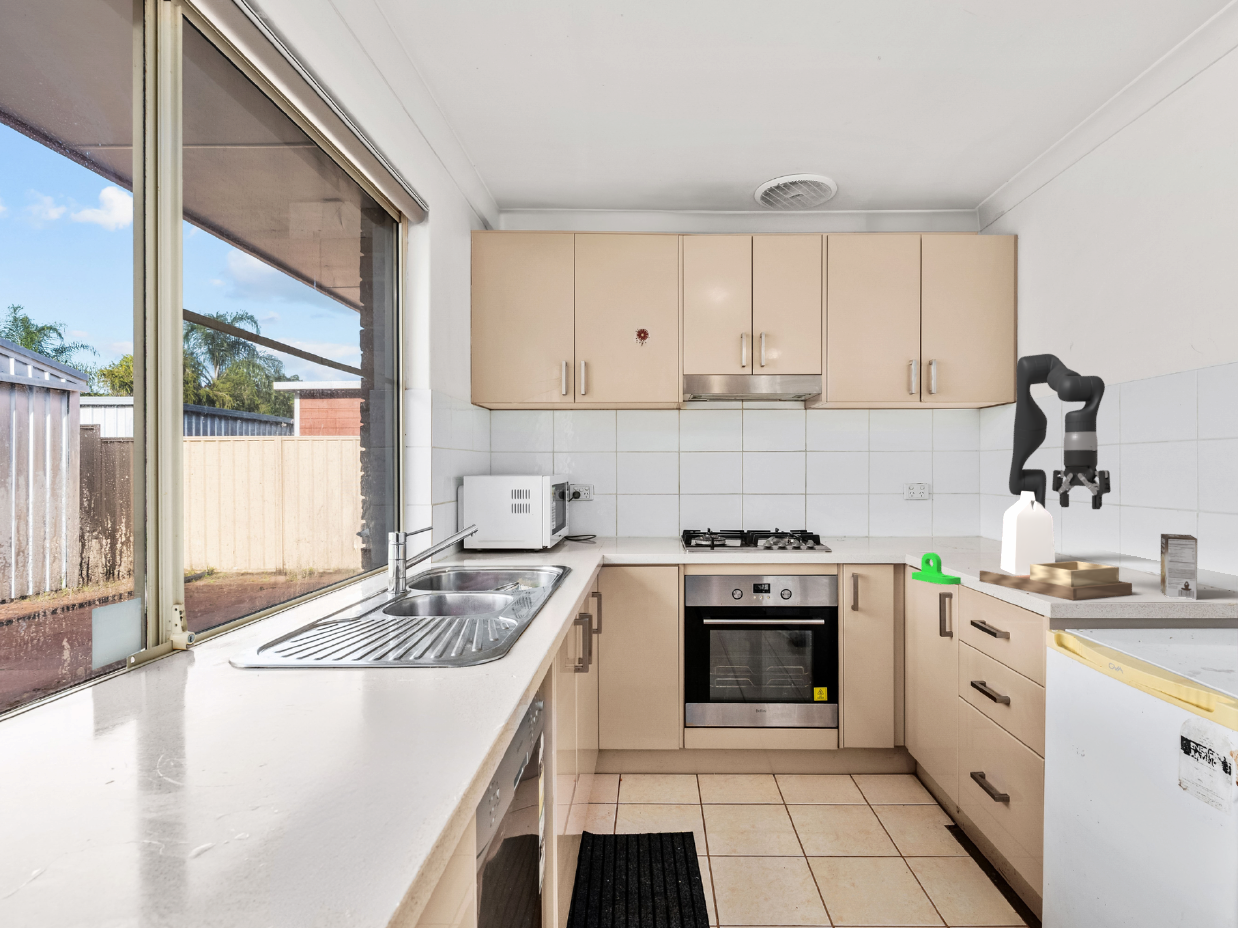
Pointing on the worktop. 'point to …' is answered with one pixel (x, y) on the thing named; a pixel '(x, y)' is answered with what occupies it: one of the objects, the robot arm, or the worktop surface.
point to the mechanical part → (934, 571)
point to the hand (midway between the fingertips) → (1080, 508)
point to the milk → (1026, 536)
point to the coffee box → (1179, 565)
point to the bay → (1057, 587)
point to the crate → (1074, 573)
